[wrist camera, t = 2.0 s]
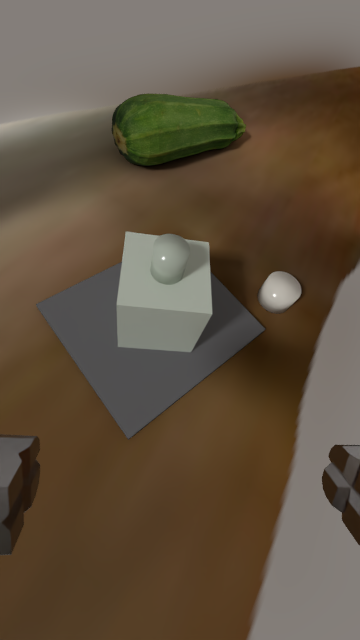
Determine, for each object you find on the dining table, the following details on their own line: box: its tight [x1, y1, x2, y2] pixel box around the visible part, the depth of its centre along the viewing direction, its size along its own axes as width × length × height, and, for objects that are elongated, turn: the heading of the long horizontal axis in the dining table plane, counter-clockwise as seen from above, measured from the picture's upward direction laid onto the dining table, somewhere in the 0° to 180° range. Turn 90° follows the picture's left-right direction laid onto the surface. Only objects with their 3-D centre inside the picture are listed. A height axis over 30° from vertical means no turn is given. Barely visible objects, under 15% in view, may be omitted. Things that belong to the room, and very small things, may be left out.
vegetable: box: [112, 94, 246, 166], centre depth 38 cm, size 7×7×20 cm
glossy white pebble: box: [257, 272, 301, 314], centre depth 30 cm, size 4×4×2 cm
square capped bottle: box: [116, 232, 212, 352], centre depth 23 cm, size 6×6×10 cm
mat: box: [36, 262, 265, 440], centre depth 27 cm, size 14×16×1 cm
